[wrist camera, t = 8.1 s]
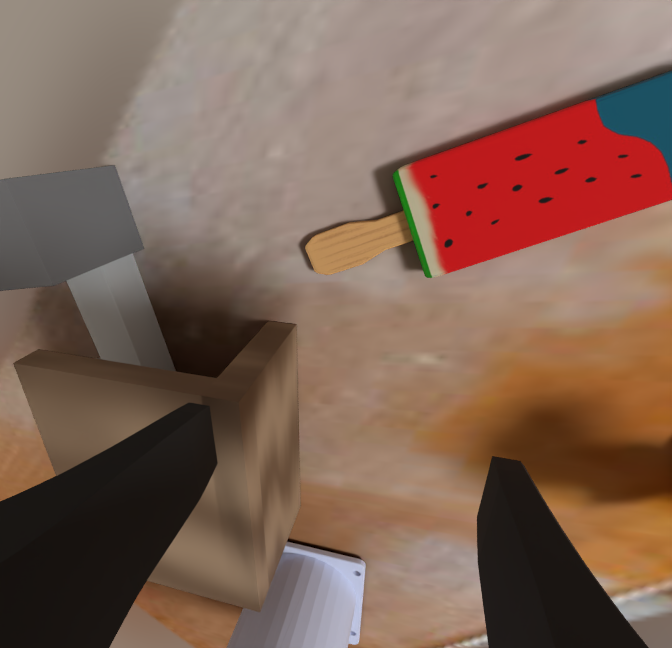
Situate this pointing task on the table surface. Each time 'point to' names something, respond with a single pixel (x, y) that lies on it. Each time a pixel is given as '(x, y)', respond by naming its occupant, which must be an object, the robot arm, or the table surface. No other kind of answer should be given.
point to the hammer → (82, 256)
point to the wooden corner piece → (230, 442)
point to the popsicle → (521, 185)
